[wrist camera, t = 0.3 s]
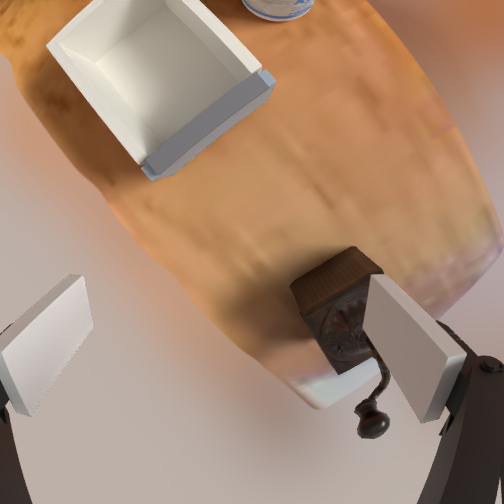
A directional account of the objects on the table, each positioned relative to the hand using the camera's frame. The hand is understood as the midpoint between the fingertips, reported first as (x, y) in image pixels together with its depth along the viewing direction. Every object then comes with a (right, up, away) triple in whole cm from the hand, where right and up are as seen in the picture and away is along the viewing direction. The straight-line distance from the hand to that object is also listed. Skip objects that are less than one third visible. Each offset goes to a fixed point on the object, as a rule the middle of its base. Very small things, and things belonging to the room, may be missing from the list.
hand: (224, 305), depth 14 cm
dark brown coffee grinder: (+14, -6, +30) cm, 34 cm away
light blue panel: (-3, +16, +22) cm, 27 cm away
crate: (-9, +24, +20) cm, 33 cm away
